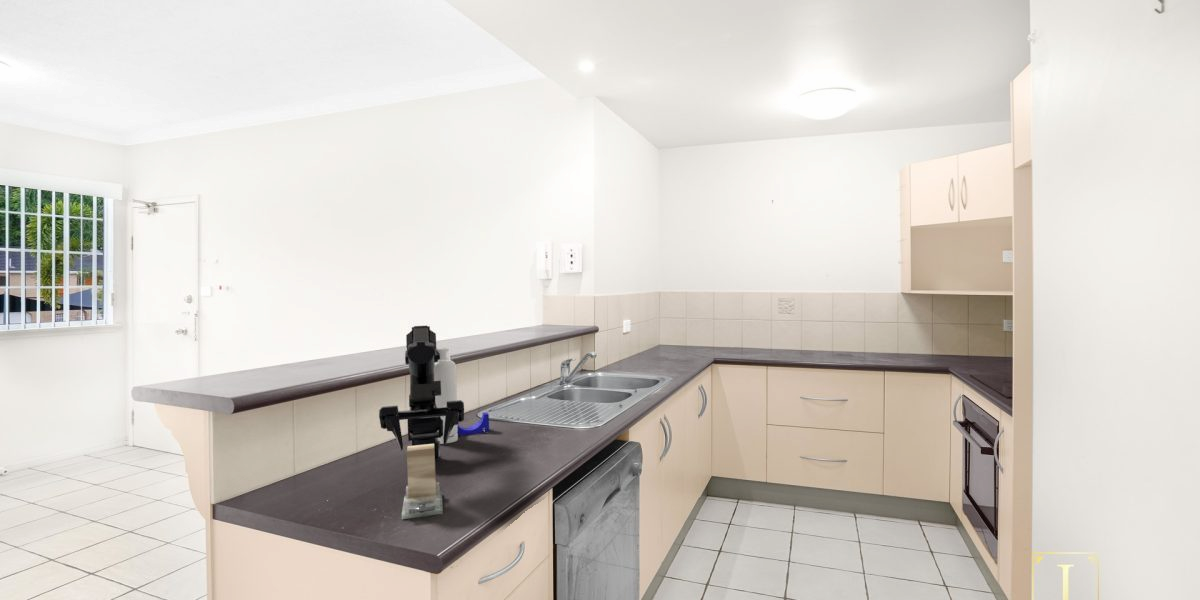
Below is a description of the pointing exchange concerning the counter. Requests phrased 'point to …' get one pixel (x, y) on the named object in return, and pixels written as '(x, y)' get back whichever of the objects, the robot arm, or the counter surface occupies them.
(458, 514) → the counter surface
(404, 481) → the counter surface
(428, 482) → the beech block
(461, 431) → the blue curved bracket
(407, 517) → the frosted green stand
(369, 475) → the counter surface
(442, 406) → the bottle
